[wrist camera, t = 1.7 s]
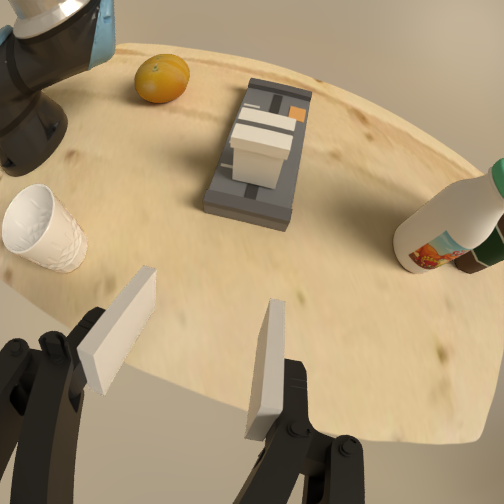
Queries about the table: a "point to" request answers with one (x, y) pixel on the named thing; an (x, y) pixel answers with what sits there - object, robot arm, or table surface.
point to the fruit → (162, 78)
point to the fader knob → (260, 146)
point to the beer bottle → (484, 251)
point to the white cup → (43, 230)
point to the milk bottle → (451, 222)
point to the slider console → (281, 198)
